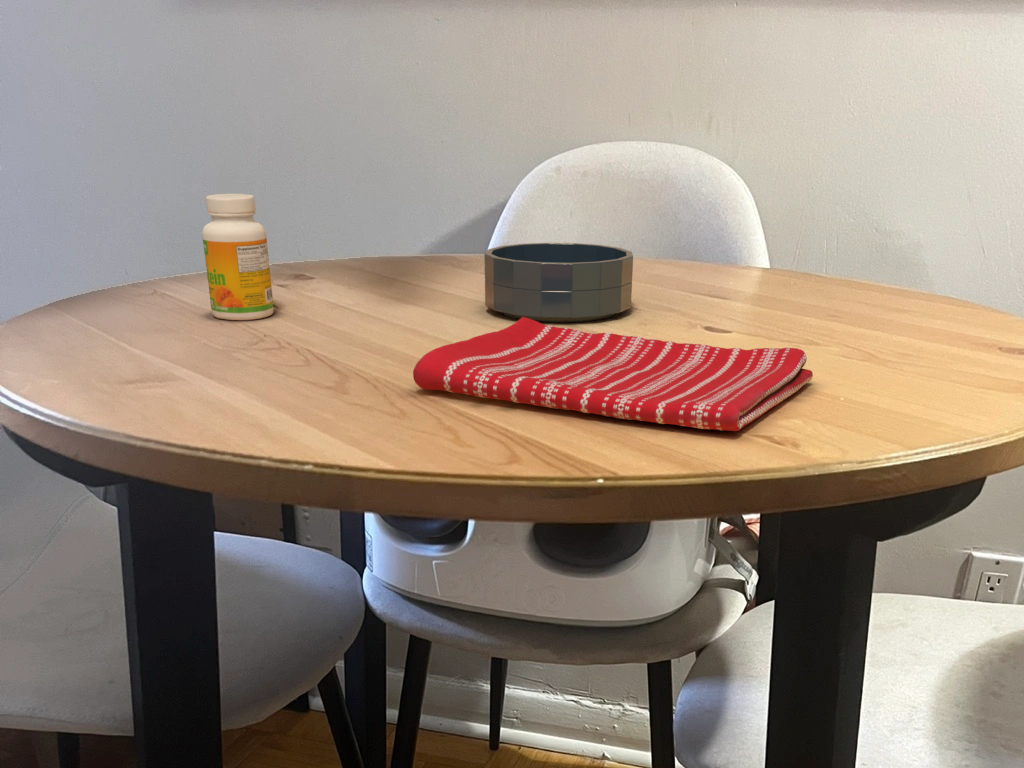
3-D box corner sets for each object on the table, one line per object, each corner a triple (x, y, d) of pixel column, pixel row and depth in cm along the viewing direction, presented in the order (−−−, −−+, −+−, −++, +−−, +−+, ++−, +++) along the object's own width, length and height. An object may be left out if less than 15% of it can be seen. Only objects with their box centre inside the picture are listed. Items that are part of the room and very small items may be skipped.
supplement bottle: (201, 314, 103) (185, 195, 98) (255, 307, 106) (242, 191, 101) (230, 323, 99) (215, 200, 94) (285, 316, 102) (273, 196, 98)
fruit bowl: (597, 330, 98) (599, 267, 96) (460, 316, 103) (459, 256, 100) (650, 305, 108) (653, 248, 106) (524, 294, 113) (524, 239, 111)
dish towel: (523, 348, 92) (523, 313, 90) (814, 383, 82) (819, 345, 81) (403, 394, 78) (401, 354, 77) (733, 442, 69) (737, 398, 68)
